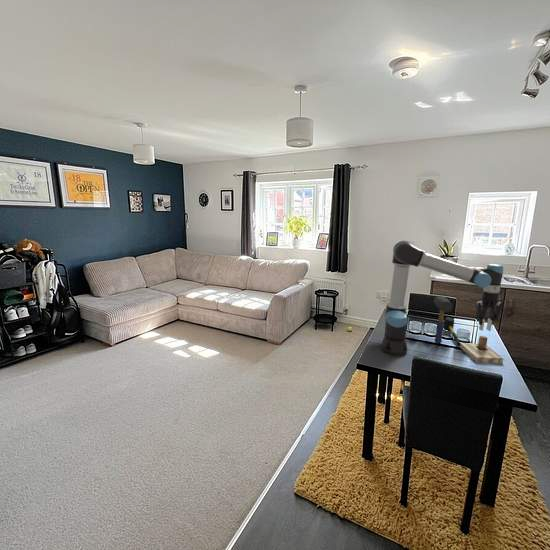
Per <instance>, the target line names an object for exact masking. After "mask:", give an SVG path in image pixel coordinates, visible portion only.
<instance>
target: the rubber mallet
mask: <svg viewBox="0 0 550 550" xmlns="http://www.w3.org/2000/svg"><path fill="white" fill-rule="evenodd" d="M433 304H434V305H435V306H436V307H437V309H439V315H438V320H437V323H436V326H435V327H436V329H435V331H436V332H435V338H434V343H436V344H438V343H440V344H441V343H442V342H443V341H442V338H443V337H442V336H443V332H444V330H443V326H444V320H445V319H444V316H445V313H449V312H451V311H452V310H453V303H452V302H451V301H450V300H449V299H448V298H446V297H444V296H443V295H439V296H438V295H437V296H436V297H435V298H434V300H433Z"/></svg>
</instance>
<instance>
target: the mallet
mask: <svg viewBox="0 0 550 550" xmlns="http://www.w3.org/2000/svg"><path fill="white" fill-rule="evenodd" d="M454 327H455V319H454V318H453V317H449V316H447V317H445V319H444V320H443V328H444V329H445V330H448V331H451V332H450V333H451V335H452V337H453V340H454V341H455V343H456V346H457V347H458V346H460V344H461V343H462V342H461V341H460V340H459V338H458V336H457V333H456V332H455V331H454Z"/></svg>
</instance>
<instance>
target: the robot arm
mask: <svg viewBox="0 0 550 550" xmlns="http://www.w3.org/2000/svg"><path fill="white" fill-rule="evenodd" d="M392 252H393V253H392V254H393V255H392V261H391V262H392V264H393V274H392V280H391V281H392V283H391V288H390V297H389V302H387V303H386V305H385V306H386V307H385V311H384V319H385V321H384V322H385V323H384V325H385V326H384V336H383V339H382V340H381V343H380V347H379V348H380V351H382V353H384V354H386V355H390V356H394V357H402V356H405V355H407V353H408V346H407V342H406V335H407V327H408V326H407V325H408V320H409V319H408V316H407V314H406V311H407V306H406V305H405V301H406V295H407V294H406V293H407V287H408V282H409V281H408V279H409V273H410V267H411V266H413V267H423V268H425V269H428V270H432V271H434V272H437V273H440V274H443V275H446V276H449V277H453V278H455V279H459V280H462V281H465V282H467V283H471V284H473V285H475V286H476V287H479V288H482V289H483V291H482V297H481V300H480V301H476V302H475V304H476V312H475V318H477V319H478V325H479V327H478V329H479V330H480V331H482V332H483V331H484V327H485V321H486V320H485V316H486V314H487V310H488V309H489V318H488V319H487V323H486V329H485V330H486V331H488V332H491V330H492V326H493V325H494V322H495V321H496V320H498V319H499V316H500V312H501V309H502V307H503V305H504V303H503V302H500V301H499V296H500V290H501V285H502V280H503V279H502V278H503V275H504V266H503V265H501V264H498V263H497V264H495V263H488V264H487V265H486V267H478V266H466V265H464V264H463V265H462V264H460V263H457V262H453V261H452V260H447V259H445V258H442V257H439V256H435V255H433V254H430V253H426V252H425V250H423V249H420V248H418V247H416V246H414V244H413V243H412V242H410V241H408V240H400V241H398V242H397V243H396V244H395V245H394V246H393V249H392Z"/></svg>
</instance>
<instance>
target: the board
mask: <svg viewBox="0 0 550 550" xmlns="http://www.w3.org/2000/svg"><path fill="white" fill-rule="evenodd" d="M460 343H461V344H460V347H459V348H460V349H461V350H462V351H463V352H464V353H465V354H467V355H468V357H470V358H471V359H472V360H473V361H474V360H475V361H476V362H475V361H474V362H475V363H484V362H485V364H490V363H492V364H504V357H502V356H501V355H500V354H499V353H498V352H496V351H495V350H493V349H492V348H491V347H489V346H488V345H486V350H479V349H478V343H473V342H472V343H471V342H470V343H467V342H460Z"/></svg>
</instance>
